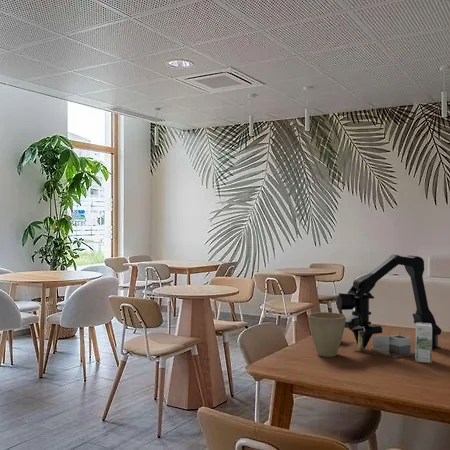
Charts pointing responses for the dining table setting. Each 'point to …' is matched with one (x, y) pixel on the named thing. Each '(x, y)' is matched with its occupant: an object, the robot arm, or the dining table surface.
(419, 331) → the syrup box
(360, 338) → the hinge pin
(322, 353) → the plant pot
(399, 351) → the hinge
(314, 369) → the dining table surface
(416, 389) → the dining table surface
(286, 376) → the dining table surface
